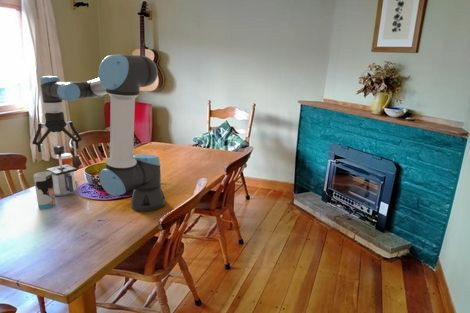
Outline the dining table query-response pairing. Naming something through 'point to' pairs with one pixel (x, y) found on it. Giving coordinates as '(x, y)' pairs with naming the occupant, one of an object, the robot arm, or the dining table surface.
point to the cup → (45, 190)
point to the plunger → (59, 154)
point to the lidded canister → (63, 180)
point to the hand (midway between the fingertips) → (59, 157)
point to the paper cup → (66, 159)
